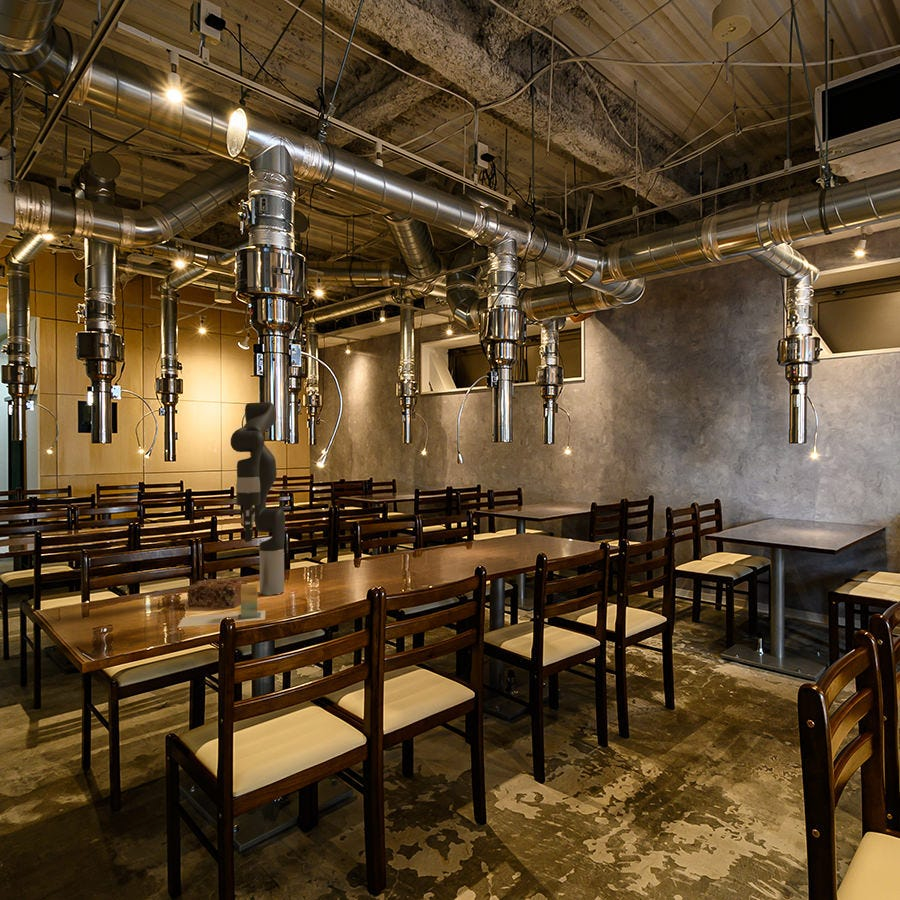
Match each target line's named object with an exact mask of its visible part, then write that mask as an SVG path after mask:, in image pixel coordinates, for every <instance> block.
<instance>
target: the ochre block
mask: <svg viewBox="0 0 900 900" xmlns="http://www.w3.org/2000/svg"><path fill="white" fill-rule="evenodd" d="M257 600H258V583H247V584H242V585H241V603H248V602H257Z"/></svg>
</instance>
